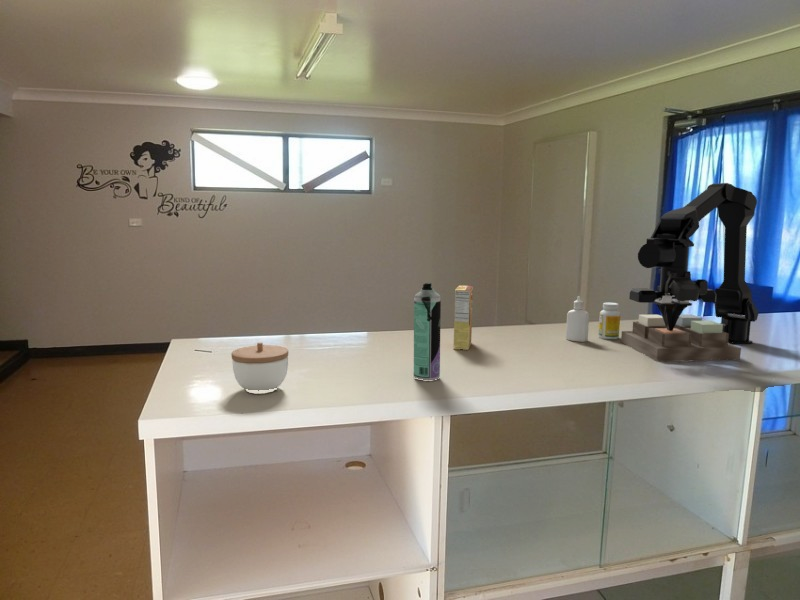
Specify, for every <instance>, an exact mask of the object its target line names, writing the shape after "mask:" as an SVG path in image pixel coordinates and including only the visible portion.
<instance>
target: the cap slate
mask: <svg viewBox="0 0 800 600" xmlns="http://www.w3.org/2000/svg"><path fill="white" fill-rule="evenodd" d="M691 321H703V317H701V316H698V315H695V314H691V313H690V314H689V313H688V314H685V313H684V314H683V313H681V314H680V316H679V318H678V320H677V322H676V324H677V325H680V326H691Z"/></svg>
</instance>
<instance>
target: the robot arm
mask: <svg viewBox="0 0 800 600" xmlns="http://www.w3.org/2000/svg"><path fill="white" fill-rule="evenodd" d="M757 205H758V200H757V196H756V195H754V194H753V192H751V191H749V190H747V189H743V188H740V187H737V186H735V185H733V184H731V183H728V182H719V183H715V182H714V183H712V184H709V185H708V186H707V188H706V189H705V190H703V191H702V192H700V194H699V195H698V196H696V197H694V198H693V199H692V200H690V201H689V202H688V203H687V204H686V205H684V206H683V207H680V208H676V209H672V210H670V211H667V212H666V213H663V214H662V215H661V217H660V218H659V219H660V220H659V221H658V223H657V224H656V226H655V229H654V231H653V232H652V234H651V236H650V238H649V237H648V238H647V237H646V243H645V244H643V245H642V246H641V247H640V249H638V252H637V260H638V262H639V265H641V267H643V268H646V269H654V268H655V269H656V268H660V269H658V271H657V273H658V274H660V282H659V285H657V286H656V287H657V288H656V290H654V289H651V288H647V287H633V288H631V290H630V291H629V300H631V301H634V302H637V303H642V304H643V303H644V304H645V303H646V304H647V303H649V304H650V303H652V304H656V306H657V309H658V310H659V312H660V314H661V315H660V316H662V317H663V320H664V322H665V325H666V328H667V330H669V331H672V330H673V329H674V326H675V324H676V322H677V320H678V318H679V316H680V314H683V311H684V310H685V309H686V308H687V307H689V306H690V307H691V306H692V305H693V303H691V302H690V301H692V302H697V301H698V300H700V301H702V302H703V303H714V310H715V317H716V318H720V320H721V321H720V324H723V329H722V331H723V332H726V333H728V334H729V336H728V343H729V344H754V343H753V342H754V341H752V340H750V332H751V323H753V322H756V321H757V320H758V318H759V317H758V316H759V310H758V308H757V306H756V305H755V303H754V301H753V297H752V293H753V292H752V289H751V288H750V287H749V285H748V283H747V282H746V256H747V227H748V224H749V223H750V222H751V221H752V219H753V218H754V216H755V212H756V207H757ZM715 209H717V215H718V219H719V220H720V221H721V223H722V225H723V226H724V245H723V247H724V249H723V250H724V252H723V280H722V281H723V282H722V283H721V284H720V285H719V287H717V288H715V290H714V289H710V288H709V287H708V286H709V281H708V280H707V279H705V278H704V279H698V278H697V279H696V280H692V277H691V275H692V274H691V271H690V270H688V268H689V256H690V248H691V247H695V243H694V242H693V241H692V240H691V239H690V238H691V237H692V236H694V234H695V233H696V231H698V230H699V228H700V222H701V220H702V219H704V218H705V217H707V216H708V215H709V214H710V213H711V212H712V211H714V210H715Z"/></svg>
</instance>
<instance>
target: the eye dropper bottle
mask: <svg viewBox="0 0 800 600" xmlns="http://www.w3.org/2000/svg"><path fill="white" fill-rule="evenodd" d="M589 323H590V314H589V312H588V311H586V310H584V301H583V300H582V299H581V296H579V295H577V298H576V300H574V301H573V309H571V310H569V311H568V312H567V314H566V329H565V339H566V340H568V341H572V342H577V343H579V342H580V343H583V342H587V341H588V340H589Z"/></svg>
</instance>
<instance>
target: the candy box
mask: <svg viewBox="0 0 800 600" xmlns="http://www.w3.org/2000/svg"><path fill="white" fill-rule="evenodd" d="M473 301H474V286H472V285H458V286H456V288H455V290H454V314H453V316H454V317H453V318H454V320H453V322H454V323H453V350H460V349H463V350H465V351H468V350H469V349H470V347H471V344H472V331H473V329H472V328H473V307H474V306H473V305H474V303H473Z"/></svg>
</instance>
